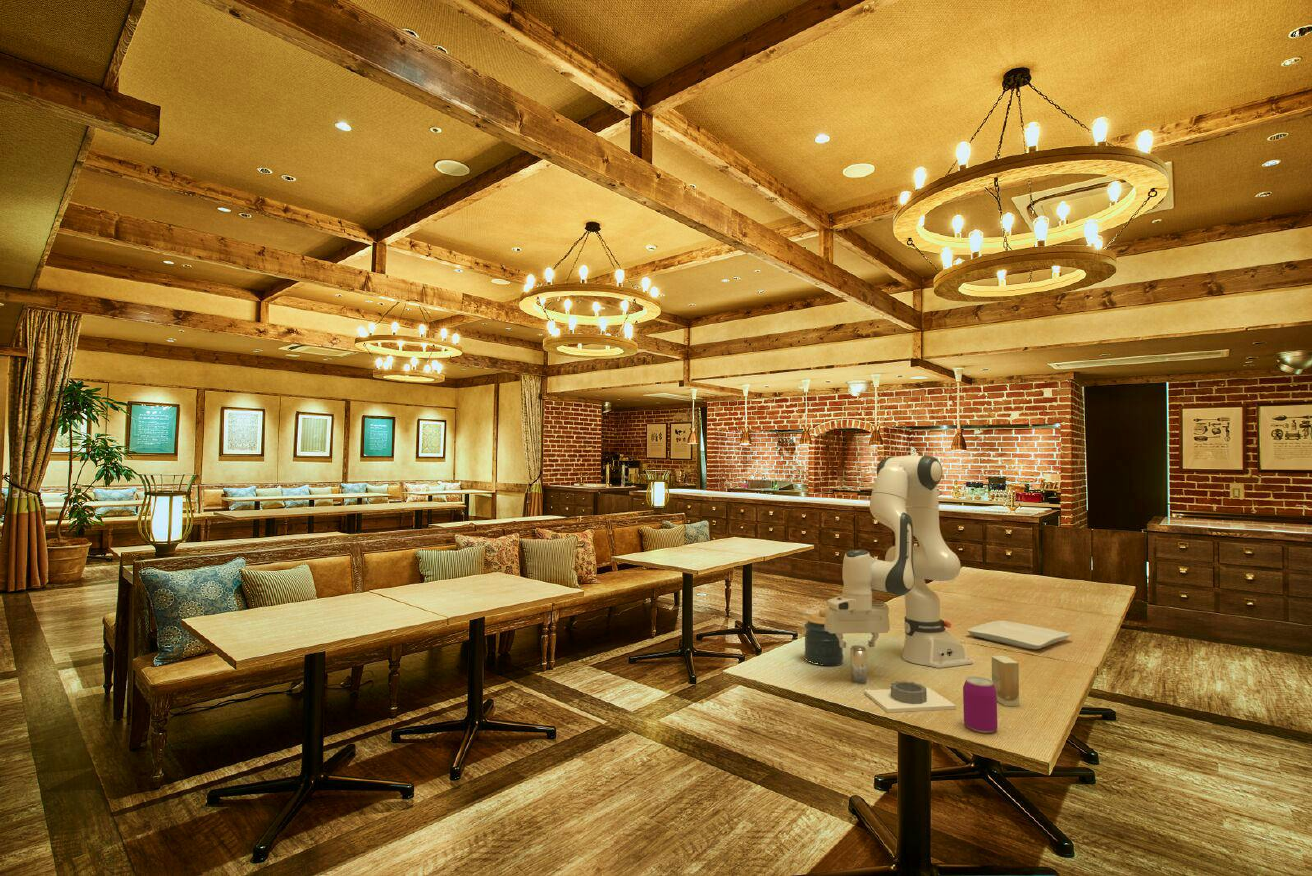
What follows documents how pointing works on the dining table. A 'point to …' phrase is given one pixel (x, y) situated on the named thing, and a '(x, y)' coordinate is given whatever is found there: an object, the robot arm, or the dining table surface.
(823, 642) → the canister
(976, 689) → the beverage can
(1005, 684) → the skincare box
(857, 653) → the cylinder
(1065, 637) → the square plate
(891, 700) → the ring block
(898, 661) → the dining table surface
